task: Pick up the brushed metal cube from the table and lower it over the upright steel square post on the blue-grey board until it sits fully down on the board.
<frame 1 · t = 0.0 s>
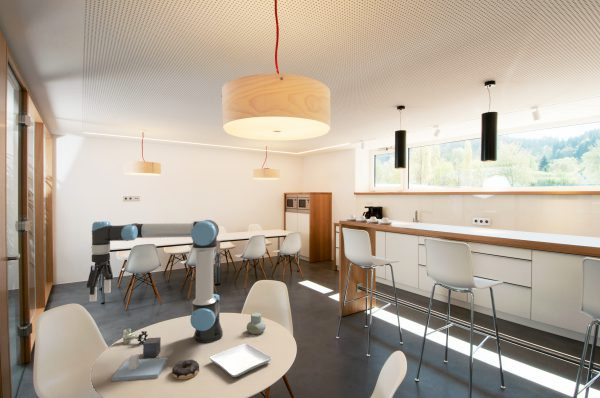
hand: (100, 296, 149), 28 cm above the table, tool pointing down, fingers open, 13 cm apart
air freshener: (256, 332, 175), on the table
salad plate: (240, 364, 140), on the table
brushed metal cube: (152, 354, 148), on the table
donut: (185, 374, 132), on the table
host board: (141, 370, 134), on the table
valve: (133, 343, 161), on the table
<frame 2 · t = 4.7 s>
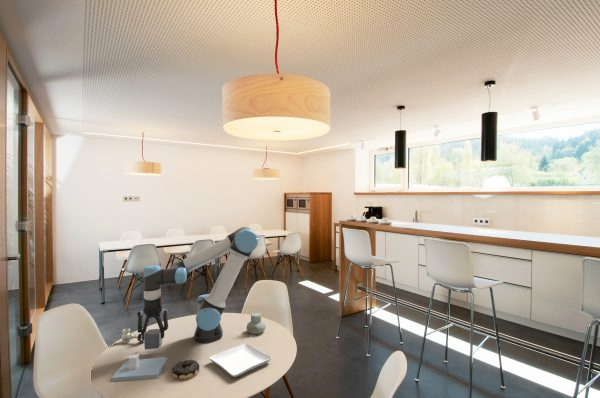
hand: (153, 345, 148), 4 cm above the table, tool pointing down, fingers closed on brushed metal cube, 6 cm apart
brushed metal cube: (153, 346, 148), point 4 cm above the table, touching gripper
when the fingers open (2 cm above the table, at t = 9.1 s): brushed metal cube stays where it is, resting on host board.
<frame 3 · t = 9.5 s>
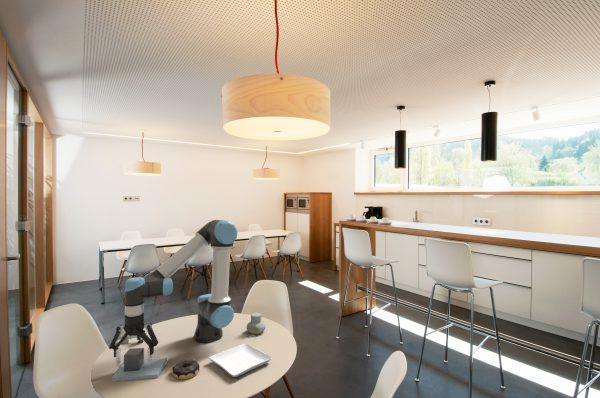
hand: (134, 363, 134), 3 cm above the table, tool pointing down, fingers open, 12 cm apart
brushed metal cube: (134, 367, 134), point 1 cm above the table, touching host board
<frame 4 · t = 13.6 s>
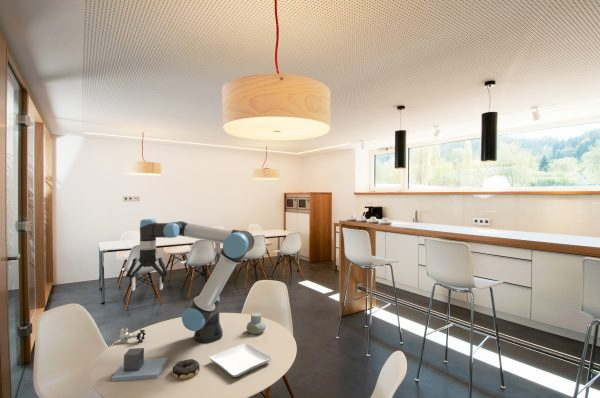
hand: (147, 289, 159), 29 cm above the table, tool pointing down, fingers open, 13 cm apart
at the end: brushed metal cube 0.0 cm from the target spot on the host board, point 1.5 cm above the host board's base; brushed metal cube tilted 0°; the gripper is holding nothing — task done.
